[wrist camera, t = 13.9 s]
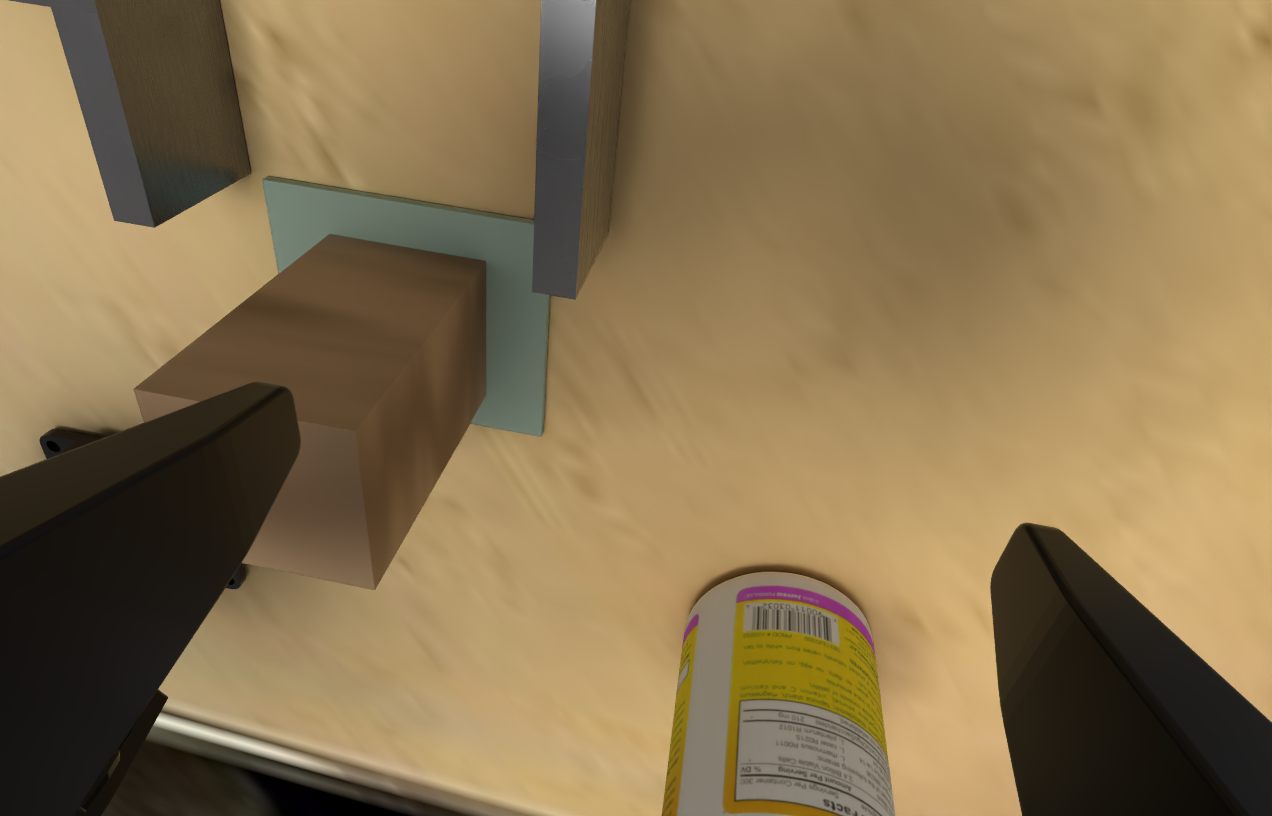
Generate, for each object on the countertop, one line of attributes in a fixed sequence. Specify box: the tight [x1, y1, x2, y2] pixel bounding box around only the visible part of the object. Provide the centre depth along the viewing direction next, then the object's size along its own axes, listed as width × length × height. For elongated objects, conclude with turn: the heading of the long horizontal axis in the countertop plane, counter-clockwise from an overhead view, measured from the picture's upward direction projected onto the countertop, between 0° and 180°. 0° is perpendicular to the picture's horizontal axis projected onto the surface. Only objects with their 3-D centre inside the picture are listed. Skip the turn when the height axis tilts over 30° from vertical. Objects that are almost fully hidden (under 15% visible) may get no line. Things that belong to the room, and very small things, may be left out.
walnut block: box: [134, 234, 486, 590], centre depth 20 cm, size 4×4×8 cm
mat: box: [262, 176, 550, 437], centre depth 23 cm, size 7×8×1 cm
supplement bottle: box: [662, 572, 895, 816], centre depth 23 cm, size 7×7×13 cm
